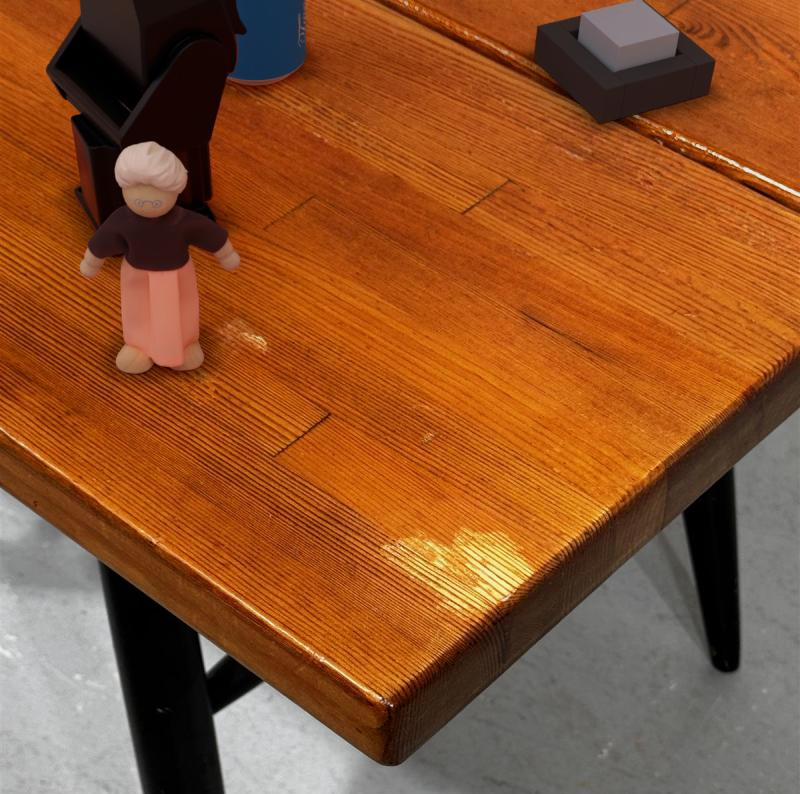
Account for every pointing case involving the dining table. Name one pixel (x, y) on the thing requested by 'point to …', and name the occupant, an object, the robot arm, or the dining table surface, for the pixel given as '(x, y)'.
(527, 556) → the dining table surface
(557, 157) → the dining table surface
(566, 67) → the dark grey square frame
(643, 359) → the dining table surface
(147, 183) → the grandmother figurine
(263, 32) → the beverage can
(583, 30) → the light grey cube
